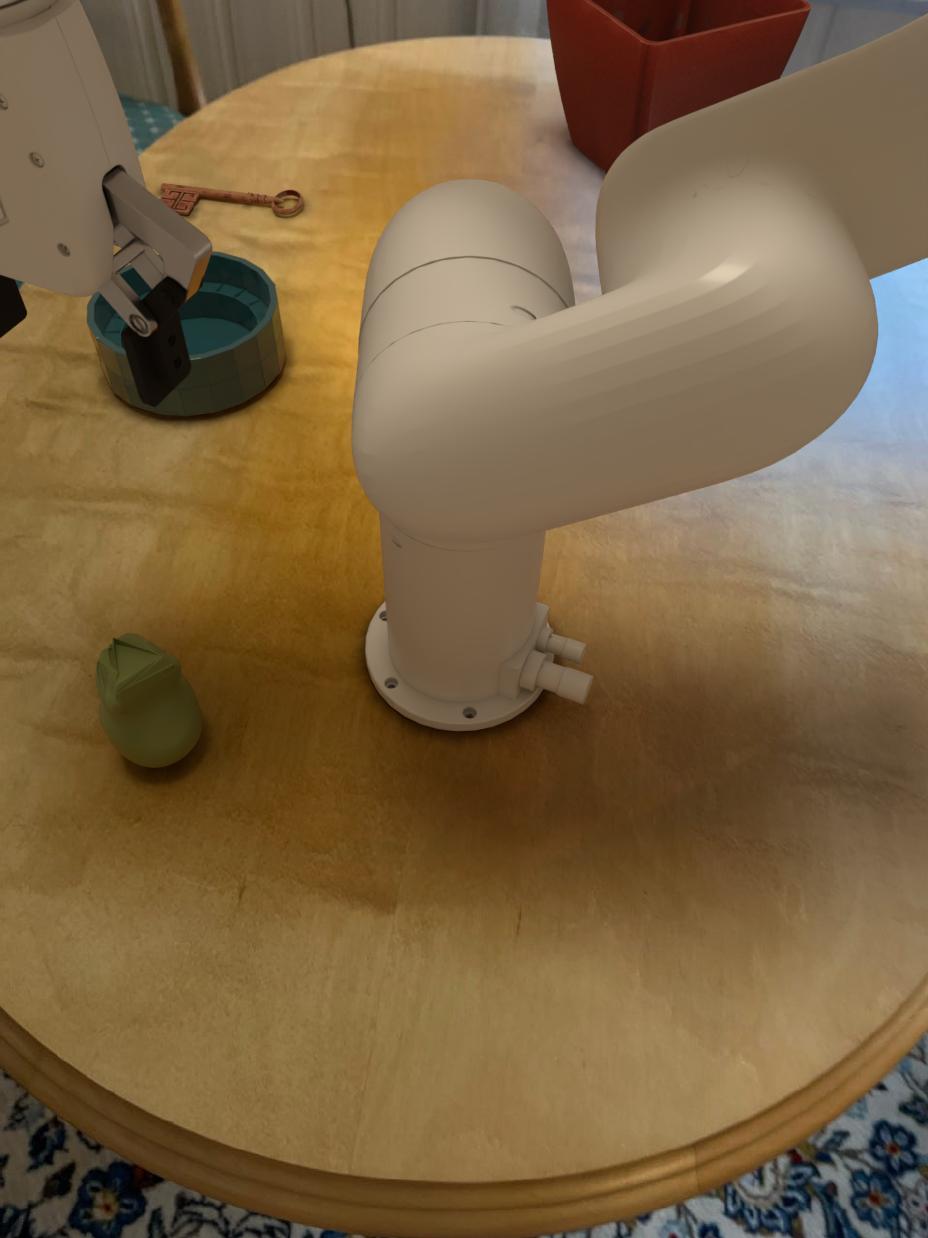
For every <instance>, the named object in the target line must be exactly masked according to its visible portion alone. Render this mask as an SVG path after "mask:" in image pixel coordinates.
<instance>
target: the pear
mask: <svg viewBox="0 0 928 1238" xmlns="http://www.w3.org/2000/svg"><path fill="white" fill-rule="evenodd" d="M95 668H96V669H95V686H96V691H97V694H98V696H99V697H98V698H99V699H100V700H99V706H98V717H99V721H100V724H101V727H102V730H103V732H104V734H105V736H106V737H107V739H108V740H109V742H110V743H111V744H112V746H113V747H114V748H115V749H116V751H118V752H119V753H120V754H121V756H123V757H124V758H126V759H127V760H128V761H130V762H132V763H133V764H136V765H138V766H141V767H144V768H151V769H155V768H156V769H158V768H163V767H167V766H170V765H173V764H175V763H178V762H179V761H181V760H182V759H184V758H185V757H186V756H187V755H188V754H190V752H191V751H192V750H193V749H194V748H195V746H196V744H197V743H198V741H199V739H200V737H201V734H202V730H203V713H202V709H201V705H200V702H199V700H198V698H197V695H196V692H195V691H194V688H193V687H192V685H191V683H190V681H189V680H188V679H187V677H186V676H185V675H184V674H183V673H182V663H181V662H180V660H179V659H178V658H177V657H176V656H174V655H172V654H170V653H167V652H166V651H165V650H164V649H163V648H161V647H160V646H158V645H157V644H155V643H153V642H151V641H149V640H147V639H145V637H143V636H142V635H141V634H139V633H130V632H127V633H126V632H125V633H124V634H122V635H120V636H118V637H112V639H111V644H109V645H108V646H107V647H106V648H103V649H102V650H101V651H100V652H99V657H98V661H97V663H96V666H95Z"/></svg>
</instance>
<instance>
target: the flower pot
mask: <svg viewBox="0 0 928 1238" xmlns="http://www.w3.org/2000/svg"><path fill="white" fill-rule="evenodd" d="M545 2H546V14H547V22H548V31H549V38H550V46H551V54H552V59H553V65H554V71H555V77H556V82H557V87H558V92H559V96H560V100H561V104H562V109H563V113H564V119H565V121H566V125H567V129H568V133H569V137H570V139H571V143H572V145H573V146H574V147H575V148H576V149H577V150H578V151H579V152H580V153H582V155H584V156H585V157H586V158H588V160H590V161H591V162H592V163H594V165H595V166H597V167H598V168H599V169H600V170H602V171H603V172H604V173H605V174H607V173H608V171H609V169H610V168H611V166H612V165H613V163H614V162H615V160H616V159H617V158H618V157H619V155H620V154H621V153H622V152H623V151H624V150H625V149H626V148H627V147H628V146H630V145H631V144H632V143H633V142H635V141H636V140H637V139H639V138H640V137H642V136H643V135H644V134H646V133H648V132H650V131H652V130H653V129H655V128H657V127H659V126H662V125H664V124H666V123H668V122H671V121H673V120H676V119H678V118H681V117H683V116H686V115H688V114H691V113H693V112H696V111H698V110H701V109H704V108H706V107H709V106H711V105H714V104H717V103H719V102H722V101H724V100H727V99H729V98H732V97H734V96H737V95H739V94H742V93H745V92H747V91H750V90H752V89H755V88H757V87H760V86H762V85H765V84H768V83H770V82H773V81H775V80H778V79H780V78H782V75H783V73H784V71H785V69H786V67H787V65H788V63H789V61H790V59H791V56H792V54H793V52H794V50H795V48H796V45H797V43H798V41H799V39H800V36H801V34H802V32H803V30H804V27H805V25H806V22H807V20H808V17H809V15H810V13H811V10H812V6H813V5H812V4H811V3H810V1H807V0H546V1H545Z"/></svg>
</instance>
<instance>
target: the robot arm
mask: <svg viewBox="0 0 928 1238" xmlns="http://www.w3.org/2000/svg"><path fill="white" fill-rule="evenodd" d="M137 152H138V151H137V148H136V145H135V142H134V139H133V136H132V133H131V129H130V126H129V122H128V120H127V117H126V114H125V111H124V109H123V106H122V102H121V100H120V96H119V93H118V90H117V88H116V86H115V83H114V80H113V78H112V75H111V71H110V69H109V66H108V64H107V62H106V58H105V56H104V54H103V51H102V49H101V46H100V44H99V42H98V39H97V37H96V35H95V32H94V30H93V27H92V25H91V22H90V20H89V18H88V16H87V14H86V12H85V9H84V6H83V5H82V3H81V0H0V339H2V338H3V337H4V336H5V335H7V334H8V333H9V332H11V330H13V329H15V327H16V326H17V325H19V324H20V323H22V322H23V321H24V320H26V318H27V316H28V309H27V307H26V305H25V301H24V299H23V297H22V294H21V292H20V289H19V287H18V284H17V281H18V282H19V281H20V282H22V283H24V284H28V285H32V286H34V287H38V288H40V289H43V290H48V291H51V292H54V293H57V294H60V295H64V296H69V297H75V298H87V297H92V295H93V294H95V293H96V292H98V291H99V292H100V293H101V295H102V296H103V297H104V298H105V299H106V300H107V301H108V303H109V304H110V305H111V306H112V307H113V308H114V309H115V310H116V312H117V313H118V314H119V315H120V316H121V317H122V318H123V320H124V321H125V322H126V323H127V324H128V325H129V326H128V327H127V328H125V329H124V330H123V332H122V334H121V339H122V342H123V346H124V349H125V352H126V355H127V359H128V362H129V365H130V369H131V372H132V375H133V378H134V382H135V385H136V388H137V391H138V395H139V398H140V399H141V401H142V403H144V404H146V405H149V406H152V407H156V406H157V405H159V404H160V403H161V402H162V401H163V400H164V399H165V398H166V397H167V396H168V395H169V394H170V393H171V392H172V391H173V390H174V389H175V388H176V387H177V386H178V385H179V384H180V383H181V382H182V381H183V380H184V379H185V378H186V377H187V376H188V375H189V373H190V371H191V362H190V358H189V353H188V349H187V345H186V341H185V337H184V333H183V329H182V325H181V321H180V317H179V312H178V309H179V308H180V307H181V306H182V305H183V304H185V303H186V302H187V301H188V300H189V299H190V298H191V297H192V296H193V295H194V294H195V293H196V292H197V291H198V290H199V289H200V288H201V287H202V286H203V276H204V274H205V271H206V268H207V265H208V262H209V259H210V256H211V253H212V251H213V244H212V241H211V240H210V238H209V237H208V235H206V234H205V233H204V232H202V231H201V230H200V229H199V228H198V227H197V226H195V225H194V224H193V223H191V222H189V220H187V219H185V217H183V215H182V214H179V213H177V212H175V211H174V210H173V209H172V208H173V207H172V208H170V207H169V206H168V205H166V204H165V203H164V202H162V201H161V200H160V199H161V198H159V197H158V196H156V195H155V194H153V192H151V191H150V190H148V188H147V185H146V181H145V177H144V174H143V170H142V166H141V162H140V159H139V155H138V153H137ZM605 174H606V173H605ZM594 229H595V230H594V231H595V235H594V236H595V237H594V238H595V253H596V260H597V261H596V262H597V269H598V277H599V283H600V292H601V295H598V296H595V297H594V298H591V299H588V300H586V301H582V302H581V303H578V304H576V299H575V298H576V297H575V290H574V289H575V288H574V283H573V278H572V273H571V268H570V264H569V261H568V257H567V254H566V252H565V249H564V246H563V245H562V244H563V243H562V241H561V239H560V238H559V237H560V236H559V235H558V233H557V232H556V230H555V228H554V227H553V225H552V223H551V222H550V220H549V219H548V218H547V217H546V215H545V214H544V213H543V212H542V210H540V209H539V208H538V206H537V205H535V204H534V202H532V201H531V200H530V199H528V198H527V197H525V196H524V195H523V194H522V193H520V192H518V191H516V190H514V189H513V188H511V187H509V186H507V185H504V184H501V183H499V182H496V181H491V180H487V179H481V178H479V179H478V178H457V179H453V180H447V181H443V182H441V183H438V184H435V185H432V186H430V187H428V188H426V189H424V190H422V191H420V192H418V193H417V194H416V195H415V196H412V198H410V199H408V201H407V202H405V203H404V204H403V205H402V206H401V207H400V208H399V209H397V211H396V213H394V215H393V216H392V217H391V218H390V220H389V221H388V223H387V224H386V225H385V227H384V229H383V230H382V232H381V233H380V236H379V238H378V240H377V242H376V244H375V246H374V249H373V251H372V254H371V257H370V261H369V264H368V268H367V273H366V277H365V283H364V289H363V298H362V306H361V315H360V321H359V322H360V323H359V331H358V345H357V346H358V349H357V351H358V353H357V354H358V356H357V363H356V364H357V365H356V374H355V382H354V390H353V403H352V413H351V426H350V427H351V430H350V431H351V433H350V435H351V437H350V438H351V439H350V440H351V454H352V461H353V466H354V470H355V473H356V476H357V480H358V482H359V484H360V486H361V488H362V490H363V493H364V495H365V496H366V498H367V499H368V502H370V504H371V506H373V507H374V509H375V510H376V511H377V512H378V519H379V532H380V545H381V546H380V547H381V560H382V574H383V586H384V587H383V589H384V601H383V603H382V604H381V605H380V606H379V607H378V608H377V610H376V611H375V613H374V614H373V617H372V618H371V620H370V622H369V625H368V628H367V632H366V635H365V648H364V652H365V663H366V668H367V670H368V674H369V677H370V680H371V682H372V685H374V688H375V689H376V691H377V693H378V694H379V695H380V696H381V698H383V699H384V701H385V702H386V703H387V704H388V705H389V706H390V707H391V708H393V709H394V710H395V711H397V713H399V714H401V716H403V717H405V718H407V719H409V720H411V721H413V722H415V723H417V724H420V725H423V726H426V727H429V728H433V729H435V730H441V731H442V730H443V731H451V732H468V731H469V732H471V731H478V730H483V729H484V730H485V729H487V728H492V727H495V726H498V725H501V724H503V723H506V722H508V721H510V720H512V719H514V718H515V717H517V716H519V715H520V714H521V713H523V712H525V711H526V710H527V709H528V708H529V707H530V706H531V705H532V704H533V703H534V702H535V701H536V700H537V699H538V698H539V697H540V695H541V693H542V691H544V690H546V691H548V692H551V693H554V694H556V696H558V697H561V698H564V699H566V700H569V701H572V702H575V703H577V704H580V705H584V704H585V703H586V701H587V698H588V695H589V693H590V690H591V688H592V684H593V679H594V675H593V674H589V673H586V672H584V671H581V670H578V669H575V668H572V667H569V666H566V667H565V666H563V665H561V664H560V665H559V664H557V663H554V658H555V656H557V657H561V659H564V660H567V661H569V662H572V663H574V664H578V665H580V664H581V663H582V661H583V659H584V656H585V655H586V654H585V653H586V650H587V647H588V644H587V643H585V642H582V641H579V640H576V639H574V638H571V637H565V636H563V635H562V636H561V635H558V634H555V632H554V628H552V627H551V626H550V623H549V621H548V619H549V614H550V613H549V612H550V606H549V605H548V604H545V603H543V602H540V601H538V599H539V598H538V597H539V589H540V582H541V574H542V565H543V557H544V551H545V542H546V535H547V531H549V530H554V529H557V528H561V527H565V526H569V525H572V524H577V523H580V522H583V521H587V520H591V519H596V518H599V517H601V516H605V515H609V514H613V513H617V512H620V511H624V510H627V509H628V510H629V509H631V508H635V507H638V506H642V505H647V504H651V503H653V502H654V503H655V502H657V501H661V500H665V499H669V498H672V497H675V496H679V495H683V494H687V493H691V492H693V491H697V490H701V489H705V488H707V487H708V488H709V487H712V486H715V485H719V484H722V483H725V482H728V481H732V480H735V479H737V478H740V477H741V478H742V477H744V476H748V475H751V474H753V473H755V472H758V471H761V470H763V469H766V468H767V467H770V466H773V465H775V464H777V463H779V462H781V461H782V460H784V459H786V458H788V457H789V456H792V455H794V454H796V453H797V452H798V451H800V450H801V449H803V448H805V446H807V445H809V444H810V443H812V442H813V441H814V440H816V439H818V438H819V437H820V436H821V435H822V434H824V433H825V432H826V431H827V430H828V429H830V427H832V426H833V425H835V423H836V422H837V421H838V420H839V419H840V418H841V417H842V416H843V415H844V414H845V413H846V412H847V411H848V409H849V408H850V407H851V406H852V404H853V403H854V402H855V400H856V399H857V397H858V396H859V395H860V393H861V391H862V389H863V387H864V386H865V384H866V382H867V380H868V378H869V375H870V373H871V371H872V367H873V364H874V361H875V357H876V355H877V348H878V340H879V319H878V310H877V304H876V298H875V293H874V290H873V286H872V283H871V280H874V279H875V278H879V277H881V276H883V275H887V274H890V273H892V272H895V271H897V270H900V269H902V268H906V267H907V266H910V265H912V264H916V263H918V262H921V261H923V260H926V259H928V12H927V13H926V14H925V13H924V15H922V16H920V17H918V18H916V19H914V20H912V21H910V22H909V23H906V24H905V25H903V26H901V27H899V28H897V29H895V30H893V31H891V32H888V33H887V34H885V35H882V36H881V37H878V38H875V39H874V40H872V41H870V42H867V43H865V44H862V45H861V46H859V47H856V48H854V49H852V50H850V51H849V50H848V51H847V52H844V53H842V54H839V55H837V56H834V57H831V58H828V59H826V60H823V61H821V62H819V63H816V64H813V65H811V66H808V67H806V68H803V69H800V70H798V71H796V72H793V73H791V74H788V75H786V76H783V77H780V79H778V80H775V81H773V82H770V83H768V84H765V85H762V86H760V87H757V88H755V89H752V90H750V91H747V92H745V93H742V94H739V95H737V96H734V97H732V98H729V99H727V100H724V101H722V102H719V103H717V104H714V105H711V106H709V107H706V108H704V109H701V110H698V111H696V112H693V113H691V114H688V115H686V116H683V117H681V118H678V119H676V120H673V121H671V122H668V123H666V124H664V125H662V126H659V127H657V128H655V129H653V130H652V131H650V132H648V133H646V134H644V135H643V136H642V137H640V138H639V139H637V140H636V141H635V142H633V143H632V144H631V145H630V146H628V147H627V148H626V149H625V150H624V151H623V152H622V153H621V154H620V155H619V157H618V158H617V159H616V160H615V162H614V163H613V165H612V166H611V168H610V169H609V171H608V173H607V174H606V175H605V176H604V178H603V181H602V184H601V187H600V189H599V193H598V196H597V201H596V208H595V228H594ZM114 246H115V247H119V248H120V249H119V250H118V251H116V253H114V252H115V251H114V249H115V248H114ZM158 255H160V256H161V258H162V260H163V261H162V260H161V258H160V257H159V256H158ZM130 264H131V265H132V266H133V267H134V269H135V270H136V271H137V272H138V273H139V275H140V276H141V277H142V278H143V279H144V280H145V282H146V283H147V284H148V285H149V286H150V288H151V289H152V290H151V291H150V292H149V293H148V294H147V295H146V296H145V297H144V298H143V299H142V300H141V299H140V298H139V296H138V295H137V294H136V293H135V292H134V291H133V289H132V288H131V287H130V286H129V285H128V284H127V283H126V281H125V280H124V279H123V278H122V277H121V276H120V274H119V273H118V272H119V271H121V270H122V269H123V268H124V267H126V266H128V265H130ZM554 655H555V656H554Z"/></svg>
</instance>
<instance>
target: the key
mask: <svg viewBox="0 0 928 1238" xmlns="http://www.w3.org/2000/svg"><path fill="white" fill-rule="evenodd" d="M160 190H161V191H162V192H163V193H162V195H161V196H160V198H159V199H160V200H161V201H162V202H164V203H165V204H166V205H168V206H169V207H170V208H172V209H173V210H174V211H175V212H177V213H178V214H179V215H189V214H190V213H191V210H192V208H193V207H194V205H195V203H196V202H197V200H198V199H199V197H208V198H216V199H223V200H233V201H241V202H242V201H243V202H247V203H256V204H260V203H261V204H263V205H266V204H271V208H272V210H273V211H274V212H275V213H276V214H278V215H283V216H288V215H291V214H295V213H296V212H298V211H299V210H300V209H301V208H302V206H303V204H304V197H303V195H302V193H301V192H300V191H298V190H295V189H286V190H282V191H280V192H278V193H277V194H276V195H275V196H273V195H272V196H271V195H267V194H259V193H255V194H254V193H253V192H250V191H249V192H241V191H233V190H224V189H216V188H207V187H200V186H191V185H184V184H183V185H182V184H173V183H165V182H162V183H161V184H160ZM289 196H291V197H292V196H293V197H295V198H296V197H297V199H299V201H298V202H297V203H296V204H295V205H293V206H292V207H289V208H280V207H278V206H277V205H280V204H283V203H285V200H284V199H282V198H284V197H289Z"/></svg>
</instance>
